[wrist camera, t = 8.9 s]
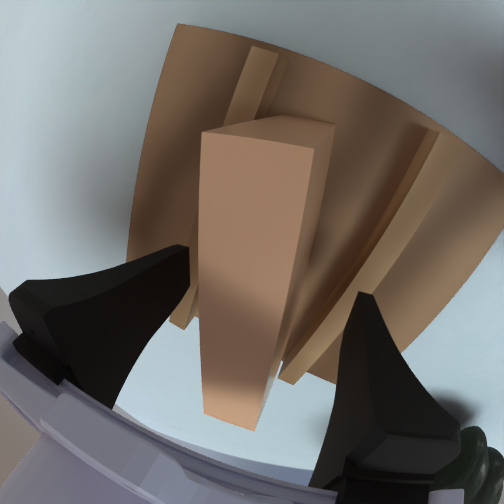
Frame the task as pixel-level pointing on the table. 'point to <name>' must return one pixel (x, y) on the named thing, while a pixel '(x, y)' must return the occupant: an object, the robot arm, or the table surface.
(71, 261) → the table surface
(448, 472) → the squash
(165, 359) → the table surface
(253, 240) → the clay block
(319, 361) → the ribbed wooden panel
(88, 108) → the table surface
